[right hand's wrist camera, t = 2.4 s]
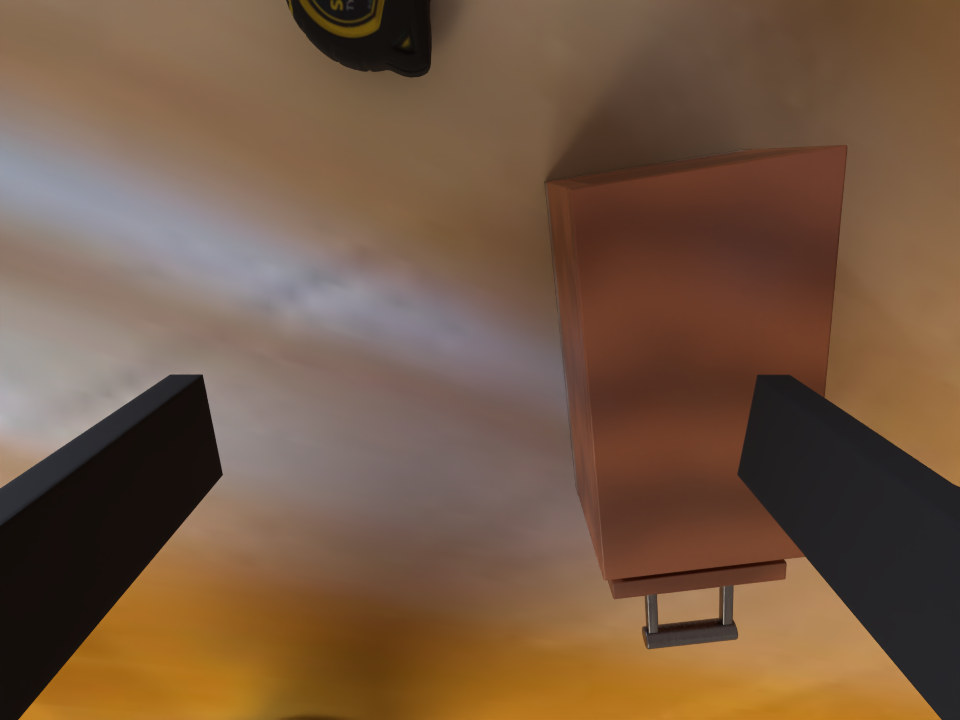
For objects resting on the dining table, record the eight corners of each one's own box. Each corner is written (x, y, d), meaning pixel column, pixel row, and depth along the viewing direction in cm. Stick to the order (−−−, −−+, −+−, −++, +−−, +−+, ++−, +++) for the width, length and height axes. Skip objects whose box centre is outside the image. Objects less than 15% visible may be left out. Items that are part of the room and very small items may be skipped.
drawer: (729, 571, 37) (780, 654, 31) (596, 587, 38) (619, 672, 31) (737, 222, 28) (810, 239, 22) (564, 249, 29) (587, 272, 23)
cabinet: (734, 466, 35) (810, 556, 27) (575, 486, 36) (603, 581, 28) (742, 149, 28) (848, 144, 20) (544, 181, 29) (569, 188, 21)
